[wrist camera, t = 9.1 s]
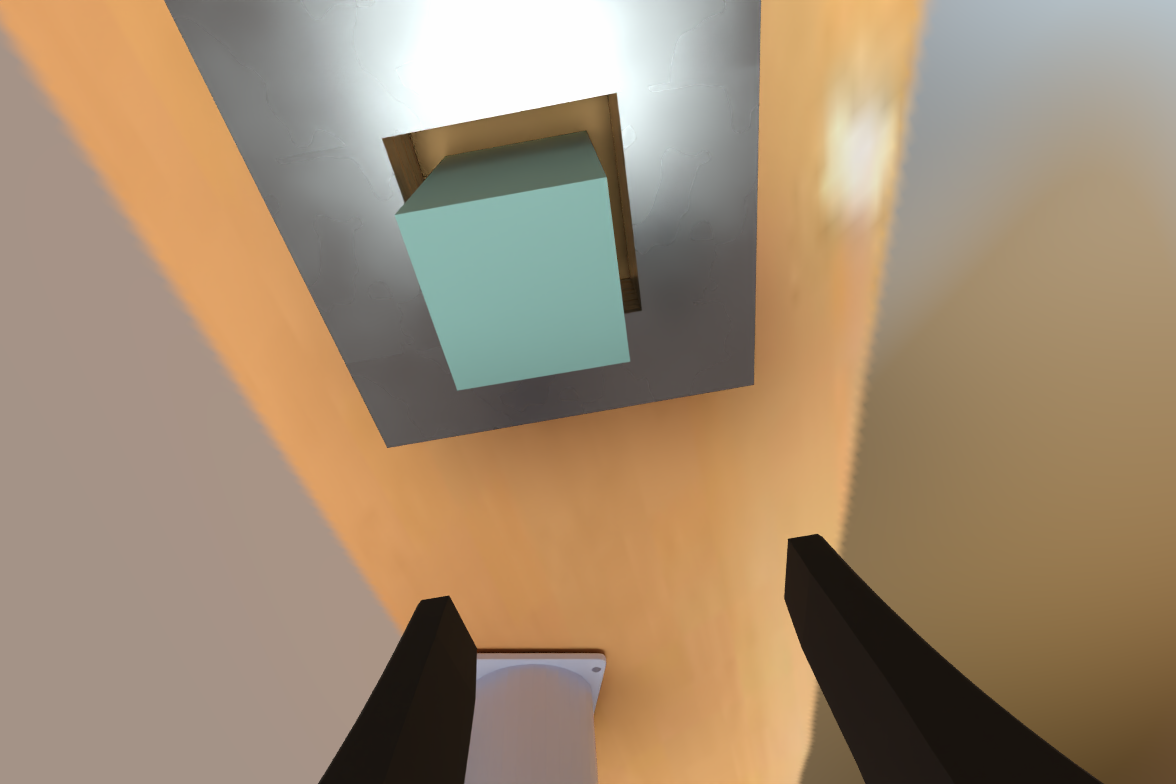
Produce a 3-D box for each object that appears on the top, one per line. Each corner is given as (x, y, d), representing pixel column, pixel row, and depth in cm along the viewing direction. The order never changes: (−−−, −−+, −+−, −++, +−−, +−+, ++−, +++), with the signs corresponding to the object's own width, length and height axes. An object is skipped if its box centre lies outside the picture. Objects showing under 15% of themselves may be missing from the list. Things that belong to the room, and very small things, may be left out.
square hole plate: (730, 346, 19) (753, 384, 17) (404, 404, 19) (387, 447, 17) (725, -105, 12) (763, -134, 10) (224, -1, 12) (160, -9, 10)
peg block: (605, 266, 17) (630, 361, 12) (483, 287, 17) (457, 390, 12) (586, 130, 15) (606, 177, 10) (445, 155, 15) (394, 215, 10)
